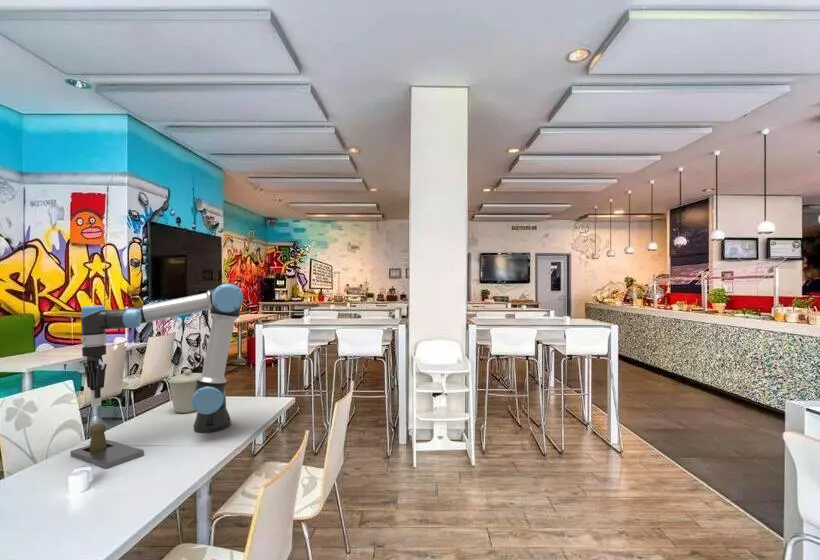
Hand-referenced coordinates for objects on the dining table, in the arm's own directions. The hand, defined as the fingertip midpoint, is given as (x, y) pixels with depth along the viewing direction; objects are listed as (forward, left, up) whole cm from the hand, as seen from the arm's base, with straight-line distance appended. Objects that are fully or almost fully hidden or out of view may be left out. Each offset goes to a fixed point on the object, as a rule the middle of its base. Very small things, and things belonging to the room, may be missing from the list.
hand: (96, 406), depth 169 cm
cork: (0, 0, -18) cm, 18 cm away
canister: (+21, -51, -18) cm, 58 cm away
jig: (-7, 0, -18) cm, 19 cm away
